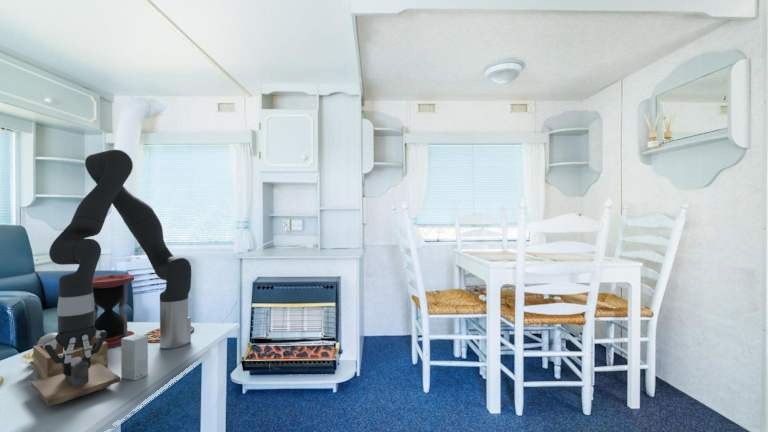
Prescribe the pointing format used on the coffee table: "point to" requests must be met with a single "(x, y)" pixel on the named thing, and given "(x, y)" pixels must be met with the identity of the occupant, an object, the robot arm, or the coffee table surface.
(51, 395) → the lid
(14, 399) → the coffee table surface
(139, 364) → the skincare box
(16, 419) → the coffee table surface
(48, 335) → the round bodied animal figurine
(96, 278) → the hourglass
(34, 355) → the open wooden box
